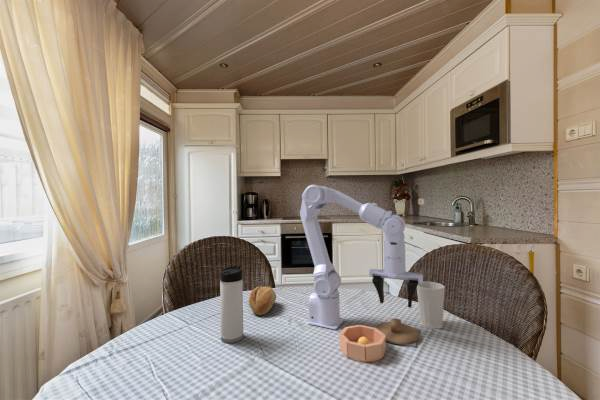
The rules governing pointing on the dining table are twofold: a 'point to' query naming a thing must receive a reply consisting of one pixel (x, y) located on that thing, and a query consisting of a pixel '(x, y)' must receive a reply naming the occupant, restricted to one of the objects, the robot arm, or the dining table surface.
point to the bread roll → (261, 299)
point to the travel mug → (231, 304)
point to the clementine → (363, 340)
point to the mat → (411, 343)
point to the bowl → (361, 351)
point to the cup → (431, 304)
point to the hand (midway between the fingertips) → (395, 304)
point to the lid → (398, 332)
